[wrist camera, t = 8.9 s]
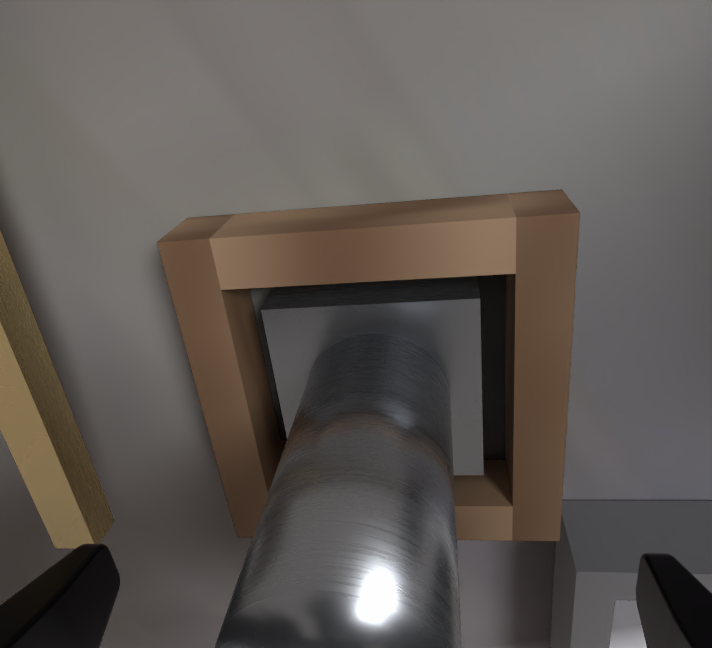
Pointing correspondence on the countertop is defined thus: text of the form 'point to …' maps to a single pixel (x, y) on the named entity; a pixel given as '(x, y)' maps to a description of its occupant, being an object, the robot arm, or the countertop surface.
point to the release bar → (44, 425)
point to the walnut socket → (386, 263)
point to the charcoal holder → (618, 559)
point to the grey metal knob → (365, 467)
